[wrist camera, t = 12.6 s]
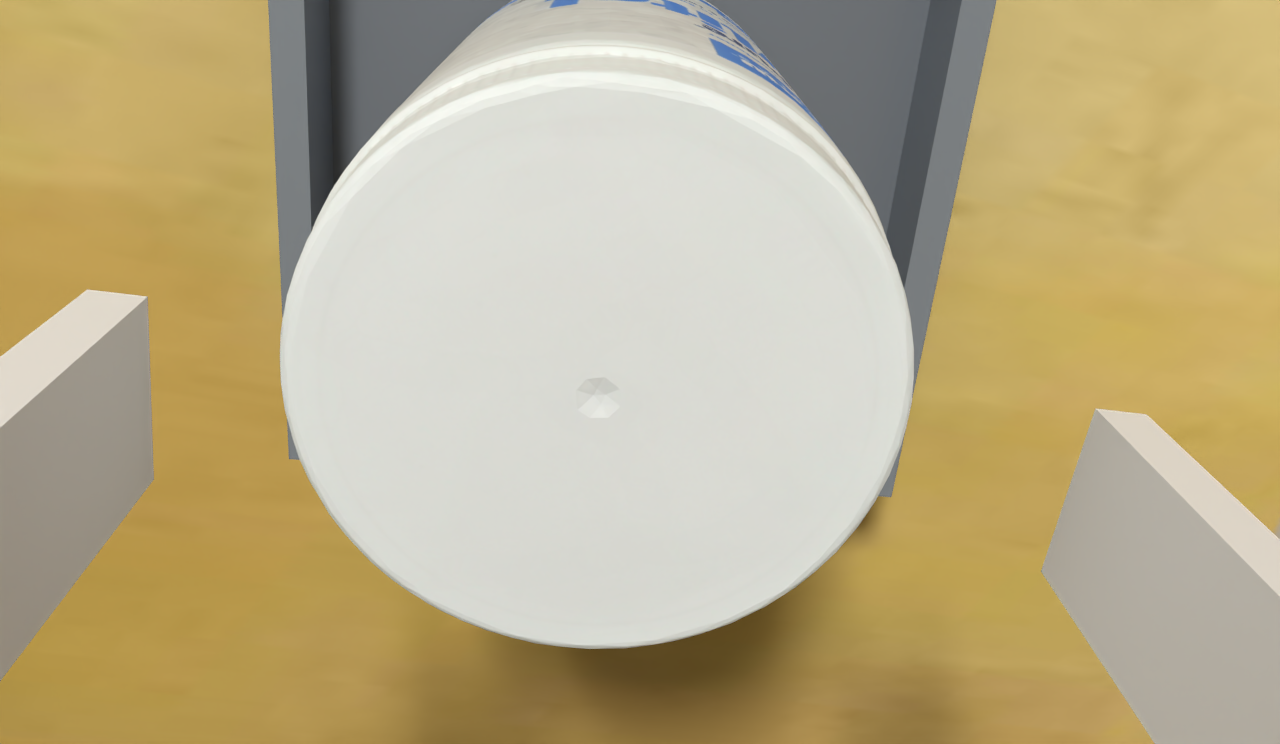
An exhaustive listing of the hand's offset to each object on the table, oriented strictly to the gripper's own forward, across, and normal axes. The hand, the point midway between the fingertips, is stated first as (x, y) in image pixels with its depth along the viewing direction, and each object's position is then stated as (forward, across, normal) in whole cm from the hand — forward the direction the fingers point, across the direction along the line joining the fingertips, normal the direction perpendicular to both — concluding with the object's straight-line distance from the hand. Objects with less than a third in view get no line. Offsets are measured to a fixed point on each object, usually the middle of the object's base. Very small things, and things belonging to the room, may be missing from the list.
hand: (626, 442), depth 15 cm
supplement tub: (+16, 0, -1) cm, 16 cm away
